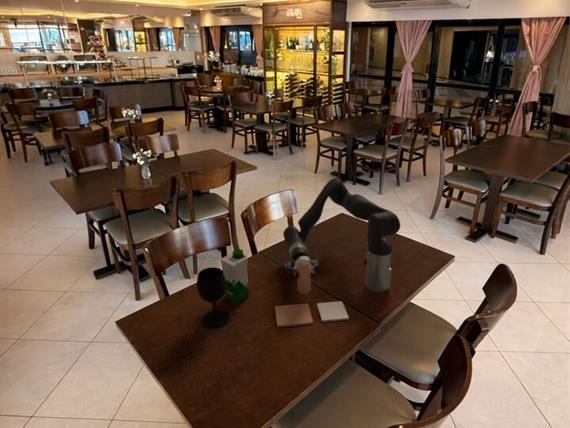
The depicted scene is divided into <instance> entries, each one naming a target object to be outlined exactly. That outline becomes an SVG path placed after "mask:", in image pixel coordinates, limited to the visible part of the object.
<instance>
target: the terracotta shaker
mask: <svg viewBox="0 0 570 428" xmlns="http://www.w3.org/2000/svg"><path fill="white" fill-rule="evenodd" d="M309 258H310V256H309V257H307V256H301V257H299V262H298V264H297V271H298V274H299V279H297V292H298V293H299V294H302V295H307V294H309V293H310V292H311V289H312V287H311V286H312V277H311V265H312V264H311V263H310V262H309Z"/></svg>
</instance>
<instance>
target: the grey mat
mask: <svg viewBox="0 0 570 428" xmlns="http://www.w3.org/2000/svg"><path fill="white" fill-rule="evenodd" d="M316 307H317V310H318V313H319V317H320V319H321V323H326V322H327V323H328V322H336V321H338V322H339V321H347V320H349V318H350V317H349V315H348V312H347V310H346V307H345V305H344V303H343V301H342V300H341V301H329V302H319V303H316Z"/></svg>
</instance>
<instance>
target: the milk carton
mask: <svg viewBox="0 0 570 428" xmlns="http://www.w3.org/2000/svg"><path fill="white" fill-rule="evenodd" d="M248 260H249V257H248V256H246V255H245V254H244V250H242V249H239V248H236V249H234V250H232V253H230V254H227V255H225V256H224V257H222V258H220V263H221V267H222V271H223V273H224V276H225V279H226V292H225V294H224V297H225V298H227V299H228V300H230V301H231V302H232V303H233V304H234V303H235V304H238V303H241V301H243V300H245V299H247V298H249V297H250V289H249V288H250V287H249V282H248V280H249V279H248Z"/></svg>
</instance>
